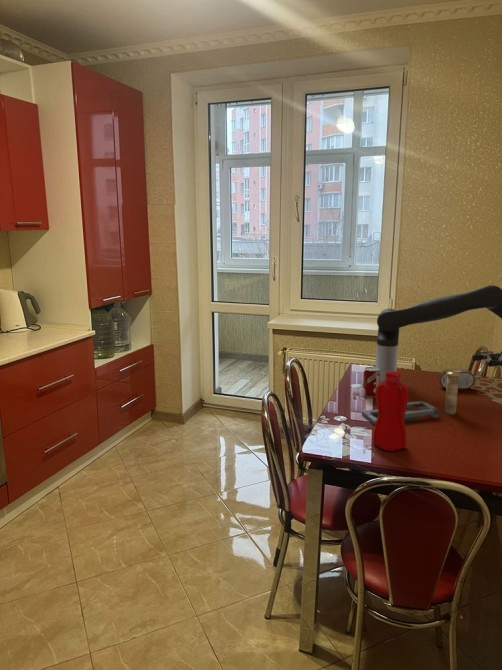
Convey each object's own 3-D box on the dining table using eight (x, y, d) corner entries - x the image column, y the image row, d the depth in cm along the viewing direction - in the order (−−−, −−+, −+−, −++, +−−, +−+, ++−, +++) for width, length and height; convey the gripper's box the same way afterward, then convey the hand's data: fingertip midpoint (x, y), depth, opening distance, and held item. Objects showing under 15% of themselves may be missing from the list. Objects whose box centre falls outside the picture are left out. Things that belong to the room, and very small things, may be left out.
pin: (440, 411, 184) (443, 371, 180) (451, 410, 185) (454, 370, 181) (448, 415, 179) (451, 375, 176) (459, 414, 180) (463, 373, 177)
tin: (472, 387, 210) (474, 369, 208) (475, 390, 207) (476, 371, 205) (437, 387, 211) (438, 368, 210) (439, 389, 208) (440, 370, 207)
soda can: (361, 397, 199) (362, 370, 197) (364, 392, 205) (365, 365, 203) (378, 399, 197) (379, 371, 194) (380, 394, 203) (381, 367, 200)
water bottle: (390, 456, 148) (394, 379, 143) (368, 442, 158) (371, 369, 153) (414, 450, 152) (419, 375, 146) (391, 437, 162) (395, 366, 156)
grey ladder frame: (374, 425, 172) (374, 417, 171) (361, 414, 181) (362, 407, 181) (438, 417, 177) (439, 410, 177) (423, 408, 187) (423, 400, 186)
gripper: (504, 343, 190) (468, 346, 186) (532, 352, 176) (494, 355, 172) (502, 361, 191) (467, 365, 188) (530, 371, 178) (493, 375, 174)
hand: (480, 360), depth 180 cm, fingers open, 8 cm apart
